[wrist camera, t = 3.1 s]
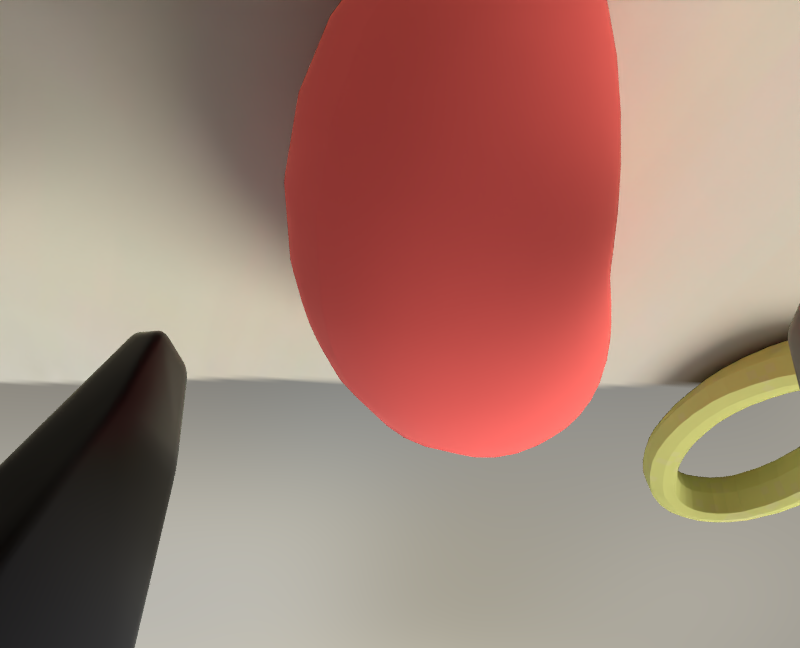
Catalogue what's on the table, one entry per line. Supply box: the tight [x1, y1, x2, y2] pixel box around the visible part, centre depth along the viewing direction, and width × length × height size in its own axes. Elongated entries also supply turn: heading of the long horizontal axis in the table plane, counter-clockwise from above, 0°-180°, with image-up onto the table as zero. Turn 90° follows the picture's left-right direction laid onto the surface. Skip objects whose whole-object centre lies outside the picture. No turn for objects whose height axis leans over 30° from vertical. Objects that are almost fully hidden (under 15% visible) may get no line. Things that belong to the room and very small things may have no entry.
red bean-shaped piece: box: [284, 0, 621, 457], centre depth 11 cm, size 5×9×6 cm, turn 0°
